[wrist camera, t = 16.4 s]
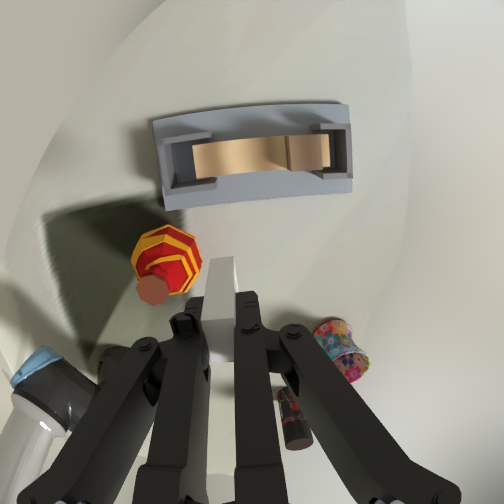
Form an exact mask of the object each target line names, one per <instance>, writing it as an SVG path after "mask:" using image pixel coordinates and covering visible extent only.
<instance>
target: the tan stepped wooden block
mask: <svg viewBox="0 0 504 504" xmlns="http://www.w3.org/2000/svg"><path fill="white" fill-rule="evenodd" d="M192 147H193V155H194V163H195V170H196V178H197V179H199V178H206V177H213V176H221V175H230V174H239V173H248V172H258V171H269V170H281V169H288V170H290V171H291V172H297V171H312V170H323V167H330V154H329V137H328V134H307V135H285V136H270V137H258V138H247V139H237V140H228V141H220V142H212V143H205V144H198V145H193V146H192Z"/></svg>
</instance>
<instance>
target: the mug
mask: <svg viewBox="0 0 504 504" xmlns="http://www.w3.org/2000/svg"><path fill="white" fill-rule="evenodd" d="M313 337H314V338H315V339H316V341H317V342H318V343H319V344H320V346H321V347H322V348H323V349H324V351H325V352H326V353H327V355H328V356H329V357H330V358H331V360H332V361H333V362H334V364H335V365H336V366H337V367H338V369H339V370H340V371H341V372H342V374H343V375H344V376H345V378H346V379H347V380H348V381H349V383H352V382H354V381H356V380H358V379H359V378H360V377H362V376H363V375H364V373H365V372H366V371H367V370H368V368H369V366H370V357H369V356H368V354H367V353H366V352H364V351H362V350H361V349H359V348H358V347H357V346H356V345H355V343H354V342H353V339H352V328H351V326H350V325H349V324H348V323H347V322H345V321H342V320H332V321H329V322H326V323H324V324H323V325H321V326H320V327H319V328H318V329H317V330H316V332H315V333H314V335H313Z"/></svg>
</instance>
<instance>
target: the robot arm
mask: <svg viewBox="0 0 504 504" xmlns="http://www.w3.org/2000/svg"><path fill="white" fill-rule="evenodd" d="M169 321H170V325H171V328H172V331H173V334H174V335H173V338H172V339H170V340H167V341H163V342H159V343H158V341H157V340H156V339H155V338H153V337H144V338H141V339H139V340H137V341H136V342H135V343H134V344H133V345H132V347H131V348H130V349H129V348H125V347H113V348H109V349H107V350H105V351H104V352H103V353H102V355H101V357H100V359H99V362H98V374H97V385H96V384H95V383H94V382H92V381H91V380H90V379H88V378H87V377H86V376H85V375H83V374H82V373H81V372H79V371H78V370H77V369H76V368H74V367H73V366H72V365H71V364H70V363H68V362H67V361H66V360H65V359H64V357H63V356H60V355H58V354H57V353H56V352H55V351H53V350H52V349H51V348H50V347H48V346H41V347H40V348H38V349H37V350H36V351H35V352H34V353H33V354H32V355H31V356H30V357H29V358H28V359H27V360H26V361H25V362H24V364H23V365H22V366H21V367H20V369H19V370H18V371H17V372H16V373H15V375H14V376H13V378H12V379H11V381H10V384H11V386H12V388H13V389H15V390H14V392H13V393H12V395H11V399H12V403H13V407H14V409H13V411H12V413H11V415H10V417H9V419H8V421H7V422H6V424H5V426H4V429H3V431H2V433H1V435H0V504H113V503H114V501H115V500H116V498H117V495H118V493H119V491H120V489H121V487H122V485H123V483H124V481H125V479H126V477H127V475H128V473H129V471H130V469H131V467H132V465H133V463H134V461H135V458H136V456H137V454H138V452H139V450H140V448H141V446H142V444H143V442H144V440H145V438H146V436H147V434H148V432H149V430H150V428H151V426H152V424H153V422H154V425H153V430H152V436H151V441H150V447H149V452H148V458H147V462H146V463H145V464H144V465H141V466H140V467H139V469H138V471H137V475H136V481H135V487H134V494H133V501H132V504H209V501H208V496H207V492H206V468H207V439H208V416H209V396H210V379H211V369H210V365H209V359H210V360H211V363H223V362H234V390H235V435H236V468H235V472H234V481H235V501H232V502H228V503H223V504H289V503H288V496H287V489H286V482H285V475H284V469H283V464H282V460H281V453H280V446H279V439H278V432H277V425H276V418H275V411H274V404H273V397H272V389H271V382H270V375H269V372H272V373H280V374H281V377H282V378H283V380H284V382H285V384H286V386H287V387H288V389H289V391H290V393H291V394H292V396H293V398H294V400H295V402H296V403H297V405H298V407H299V409H300V410H301V412H302V414H303V416H304V417H305V419H306V421H307V423H308V424H309V426H310V428H311V430H312V431H313V433H314V435H315V436H316V438H317V440H318V442H319V443H320V445H321V447H322V448H323V450H324V452H325V453H326V455H327V457H328V458H329V460H330V462H331V463H332V465H333V467H334V468H335V470H336V472H337V473H338V475H339V477H340V478H341V480H342V482H343V483H344V485H345V486H346V488H347V489H348V491H349V493H350V494H351V496H352V497H353V498H354V500H355V501H356V502H357V503H358V504H460V502H461V491H460V489H459V487H458V486H456V485H455V484H454V483H452V482H450V481H448V480H446V479H444V478H442V477H440V476H438V475H437V474H435V473H433V472H431V471H429V470H427V469H425V468H423V467H422V466H420V465H418V464H416V463H415V462H413V461H411V460H410V459H409V457H408V456H407V455H406V454H405V452H404V451H403V450H402V449H401V447H400V446H399V445H398V444H397V442H396V441H395V440H394V439H393V437H392V436H391V435H390V433H389V432H388V431H387V430H386V428H385V427H384V426H383V425H382V423H381V422H380V421H379V419H378V418H377V417H376V416H375V414H374V413H373V412H372V411H371V409H370V408H369V407H368V406H367V405H366V403H365V402H364V400H363V399H362V398H361V397H360V395H359V394H358V393H357V392H356V390H355V389H354V388H353V386H352V385H351V384H350V383H349V381H348V380H347V379H346V378H345V376H344V375H343V374H342V372H341V371H340V370H339V369H338V367H337V366H336V365H335V364H334V362H333V361H332V360H331V358H330V357H329V356H328V355H327V353H326V352H325V351H324V349H323V348H322V347H321V346H320V344H319V343H318V342H317V341H316V339H315V338H314V337H313V335H312V334H311V333H310V332H309V330H308V329H307V328H306V327H305V326H303V325H300V324H289V325H286V326H284V327H282V328H281V329H280V331H272V330H269V329H267V328H265V327H264V326H263V325H262V322H261V316H260V309H259V302H258V295H257V294H256V293H255V292H254V291H246V292H238V285H237V277H236V270H235V262H234V256H232V257H223V258H214V259H211V260H210V265H209V271H208V277H207V283H206V289H205V295H204V296H202V297H191V298H190V299H189V300H188V301H187V303H186V306H185V310H184V312H180V313H178V314H175V315H174V316H173V317H171V319H170V320H169ZM67 430H70V431H71V432H72V434H71V435H70V437H69V438H68V440H67V442H66V443H65V445H64V446H63V448H62V449H61V451H60V453H59V454H58V456H57V457H56V459H55V461H54V462H53V464H52V465H51V467H50V469H49V470H47V471H46V472H45V473H44V474H42V475H41V476H40V473H41V470H42V468H43V465H44V462H45V460H46V457H47V455H48V452H49V450H50V447H51V445H52V442H53V440H54V438H56V437H60V436H65V434H66V432H67ZM39 476H40V477H39Z"/></svg>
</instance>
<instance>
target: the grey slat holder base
mask: <svg viewBox="0 0 504 504" xmlns="http://www.w3.org/2000/svg"><path fill="white" fill-rule="evenodd" d="M153 128H154V136H155V144H156V152H157V159H158V166H159V173H160V179H161V186H162V192H163V198H164V204H165V209H166V211H170V210H177V209H185V208H192V207H200V206H208V205H216V204H225V203H234V202H243V201H252V200H262V199H273V198H284V197H296V196H309V195H323V194H338V193H352V178H353V165H352V139H351V124H350V118H349V106H348V105H345V104H282V105H263V106H249V107H238V108H229V109H220V110H212V111H205V112H198V113H191V114H185V115H179V116H174V117H168V118H163V119H158V120H154V121H153ZM307 134H328V137H329V154H330V167H323V170H312V171H297V172H291V171H290V170H288V169H281V170H269V171H258V172H248V173H239V174H230V175H221V176H213V177H206V178H199V179H197V178H196V170H195V163H194V155H193V147H192V146H193V145H198V144H205V143H212V142H220V141H228V140H237V139H247V138H258V137H270V136H285V135H307Z"/></svg>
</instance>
